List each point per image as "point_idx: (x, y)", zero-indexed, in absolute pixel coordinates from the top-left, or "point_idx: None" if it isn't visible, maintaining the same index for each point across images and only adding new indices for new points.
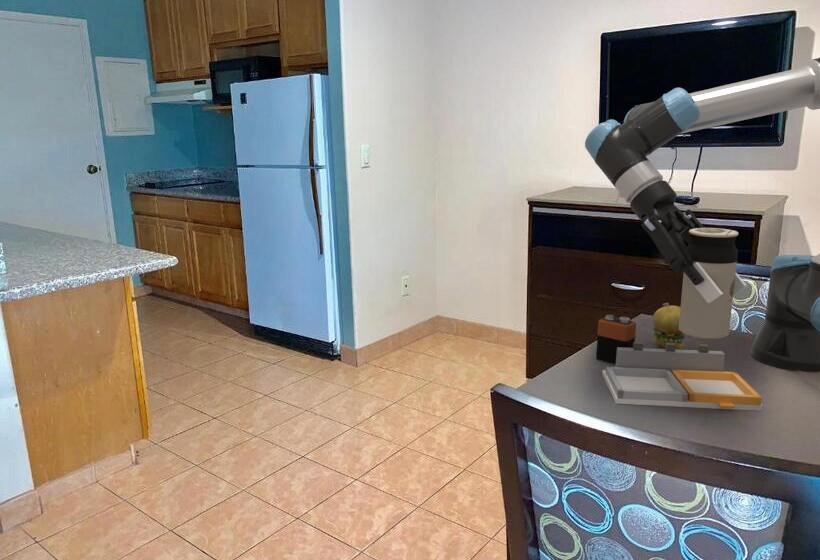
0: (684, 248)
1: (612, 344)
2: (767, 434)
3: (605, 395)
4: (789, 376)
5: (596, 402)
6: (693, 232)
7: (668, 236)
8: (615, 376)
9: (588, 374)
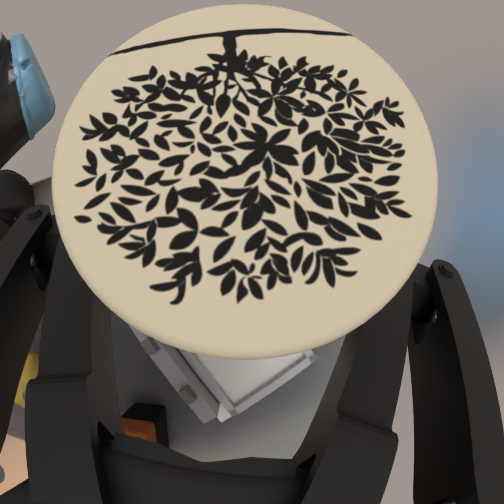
0: (398, 301)
1: (159, 440)
2: None
3: (296, 380)
4: (52, 201)
5: (328, 376)
6: (418, 260)
7: (480, 390)
8: (264, 389)
9: (236, 433)
